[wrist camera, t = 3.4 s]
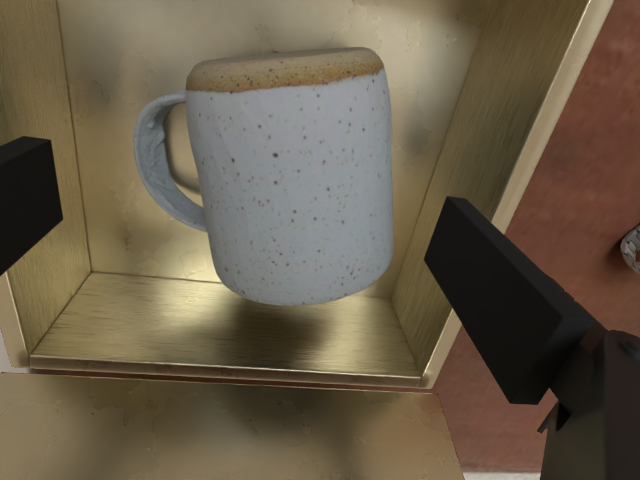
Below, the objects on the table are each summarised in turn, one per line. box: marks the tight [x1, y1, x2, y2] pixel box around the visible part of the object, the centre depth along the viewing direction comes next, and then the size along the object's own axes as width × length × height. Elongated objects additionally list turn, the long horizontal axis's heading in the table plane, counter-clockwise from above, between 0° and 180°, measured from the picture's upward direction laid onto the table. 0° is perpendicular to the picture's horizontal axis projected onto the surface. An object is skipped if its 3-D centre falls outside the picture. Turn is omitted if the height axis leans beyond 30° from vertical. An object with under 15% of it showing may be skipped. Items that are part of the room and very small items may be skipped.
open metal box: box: [0, 0, 614, 389], centre depth 16 cm, size 18×19×7 cm
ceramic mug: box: [133, 47, 394, 306], centre depth 15 cm, size 11×8×8 cm
